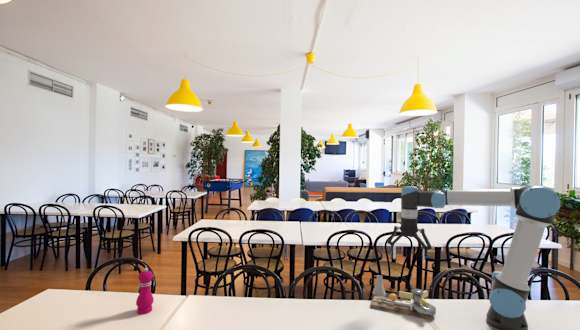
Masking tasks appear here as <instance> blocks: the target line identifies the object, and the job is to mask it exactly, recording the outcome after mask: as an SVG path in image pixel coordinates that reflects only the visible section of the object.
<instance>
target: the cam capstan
mask: <svg viewBox="0 0 580 330" xmlns="http://www.w3.org/2000/svg"><path fill="white" fill-rule="evenodd" d="M427 297H429V291H428V290H426V289H425V290H422V289H420V288H412V289H411V292H407V291H402V290H399V291H398V298H402V299H408V300H411V299H412V302H413V310H414V311H415V312H416V313H418V314H421V315H424V316H431V317H433V316H435V315H437V308H436V306H434V305H433V304H431V303H430V302H429V301H428V300H426V299H425V298H427Z"/></svg>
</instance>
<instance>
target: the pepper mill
mask: <svg viewBox="0 0 580 330" xmlns="http://www.w3.org/2000/svg"><path fill="white" fill-rule="evenodd" d="M153 278H154V274H153V272H152V271H151V270H149V268H148V267H144V268H143V271H141V272H140V273H139V275H138V281H139V287H140V288H139V294H138V296H137V298H136V301H135V305H136V308H137V309H136V312H137V314H138V315H146V314H149V313H151V312H152V310H153V304H154V297H153V293H152V291H151V285H152V279H153Z"/></svg>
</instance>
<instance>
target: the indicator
mask: <svg viewBox="0 0 580 330" xmlns="http://www.w3.org/2000/svg"><path fill="white" fill-rule="evenodd" d="M388 297H389V298H390V300H392V303H394V304H397V305H402V306H407V307H410V310H412V302H413V300H412V299H410V302H411V303H406V302H400V301H395V300H396V299H398V298H397V294H396V293H390V294H389V295H388Z"/></svg>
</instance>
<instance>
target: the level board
mask: <svg viewBox="0 0 580 330" xmlns="http://www.w3.org/2000/svg"><path fill="white" fill-rule="evenodd" d="M395 301H400V302H402V301H406V303H411V301H408V300H404V299H398V298H397V299H396V300H395ZM370 308H372V309H378V310H382V311H386V312H387V311H388V312H392V313H397V314H401V315H404V316H405V315H406V316H412V317H415V318H421V319H424V320H430V321H432V316H424V315H421V314H418V313H416V312H415V311H414V310H413V301H412V310H410V307H407V306H402V305H397V304H394V303H392V300H390V298H389V296H387V297H386V296H385V297H383V296H378V295H374V294H373V297H372V300H371V303H370Z"/></svg>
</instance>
